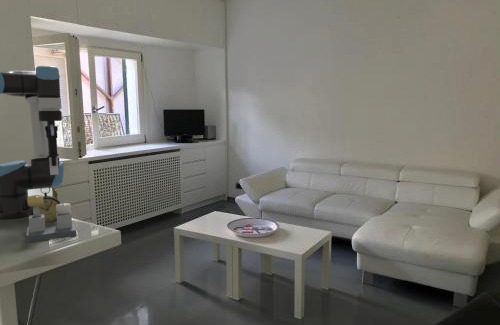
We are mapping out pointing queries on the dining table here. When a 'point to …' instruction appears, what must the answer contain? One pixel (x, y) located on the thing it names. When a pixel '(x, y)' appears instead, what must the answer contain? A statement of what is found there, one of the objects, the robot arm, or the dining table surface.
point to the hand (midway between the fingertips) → (54, 174)
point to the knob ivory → (63, 208)
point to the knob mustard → (35, 204)
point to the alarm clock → (48, 208)
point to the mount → (50, 228)
